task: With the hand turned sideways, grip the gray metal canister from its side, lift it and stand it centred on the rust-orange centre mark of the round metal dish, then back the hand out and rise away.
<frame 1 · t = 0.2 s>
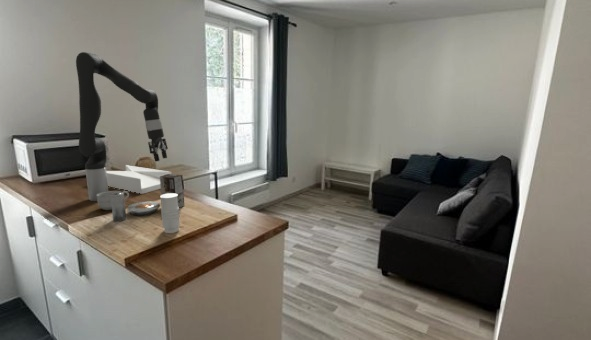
hand: (161, 159, 164), 22 cm above the worktop, tool pointing down, fingers open, 8 cm apart
teacup: (114, 208, 156), on the worktop
coffee box: (173, 206, 159), on the worktop
gray metal canister: (119, 219, 141), on the worktop
white paper airplane: (133, 185, 200), on the worktop
candle: (171, 230, 129), on the worktop
round metal dish: (144, 211, 151), on the worktop
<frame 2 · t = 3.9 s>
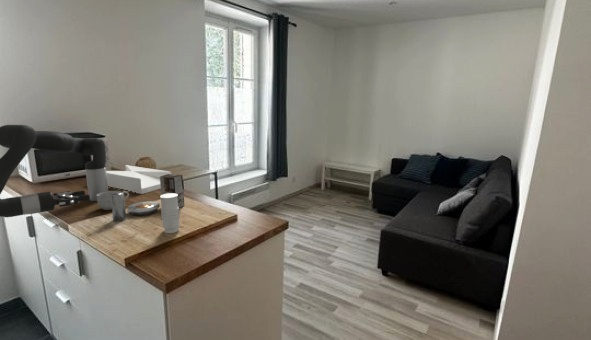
hand: (87, 195, 130), 14 cm above the worktop, tool horizontal, fingers open, 8 cm apart
nothing on the worktop moved.
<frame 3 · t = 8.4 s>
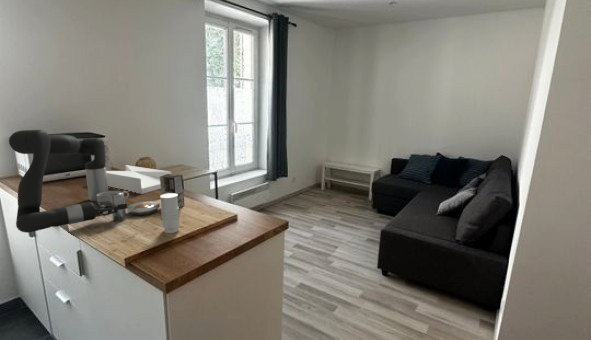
hand: (124, 204, 141), 7 cm above the worktop, tool horizontal, fingers closed on gray metal canister, 5 cm apart
gray metal canister: (119, 219, 141), on the worktop, touching gripper
everything else where it was.
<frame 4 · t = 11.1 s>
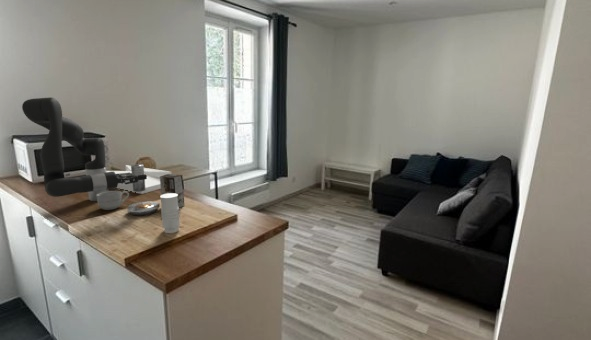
hand: (144, 175, 148), 18 cm above the worktop, tool horizontal, fingers closed on gray metal canister, 5 cm apart
gray metal canister: (139, 190, 147), point 11 cm above the worktop, touching gripper
everything else where it was.
when the fingers open (11 cm above the worktop, at t = 13.8 s): gray metal canister drops 1 cm, resting on round metal dish.
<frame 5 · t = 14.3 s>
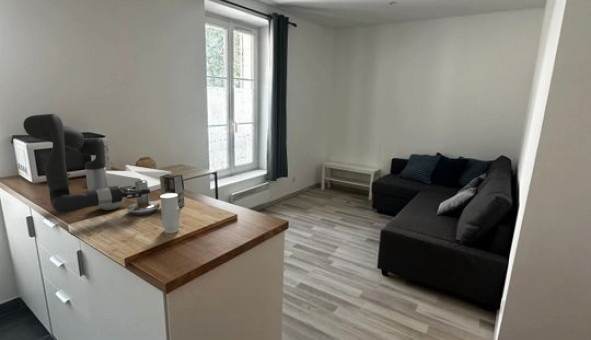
hand: (146, 189, 150), 11 cm above the worktop, tool horizontal, fingers open, 8 cm apart
gray metal canister: (143, 205, 150), point 3 cm above the worktop, touching round metal dish
everything else where it was.
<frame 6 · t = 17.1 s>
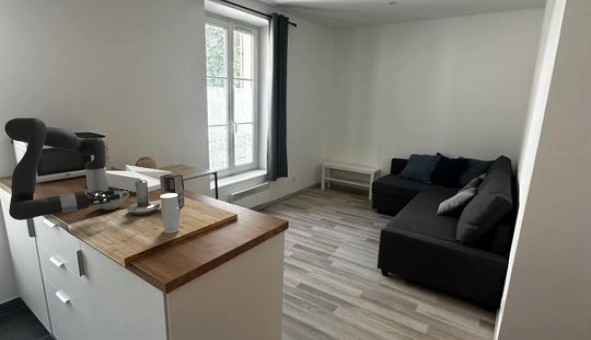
hand: (116, 194, 141), 11 cm above the worktop, tool horizontal, fingers open, 8 cm apart
nothing on the worktop moved.
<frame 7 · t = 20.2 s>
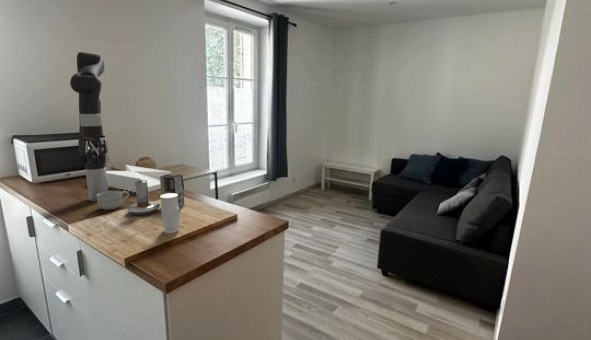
hand: (96, 162, 135), 26 cm above the worktop, tool pointing down, fingers open, 8 cm apart
nothing on the worktop moved.
at the end: gray metal canister 0.1 cm from the round metal dish (horizontally); gray metal canister tilted 0°; gray metal canister touching round metal dish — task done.
